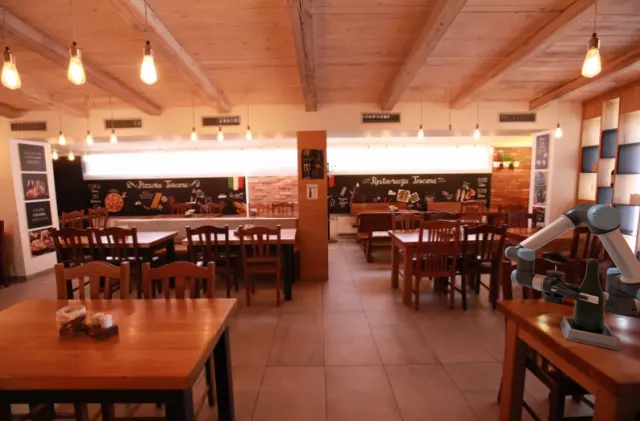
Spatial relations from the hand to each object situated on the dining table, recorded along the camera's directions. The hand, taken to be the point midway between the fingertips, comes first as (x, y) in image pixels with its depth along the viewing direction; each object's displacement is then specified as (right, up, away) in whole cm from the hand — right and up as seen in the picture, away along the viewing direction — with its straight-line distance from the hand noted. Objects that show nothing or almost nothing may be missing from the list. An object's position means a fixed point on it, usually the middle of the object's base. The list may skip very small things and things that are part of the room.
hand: (603, 298), depth 137 cm
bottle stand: (-2, -19, +6) cm, 20 cm away
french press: (+15, -15, +49) cm, 53 cm away
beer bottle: (-2, -16, +5) cm, 17 cm away
